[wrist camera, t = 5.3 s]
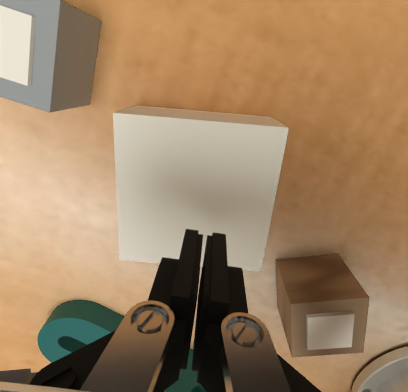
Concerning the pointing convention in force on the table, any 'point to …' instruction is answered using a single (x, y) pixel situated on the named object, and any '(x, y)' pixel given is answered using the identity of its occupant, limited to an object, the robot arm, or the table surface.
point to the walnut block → (321, 306)
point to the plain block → (195, 181)
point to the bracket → (94, 336)
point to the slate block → (47, 53)
